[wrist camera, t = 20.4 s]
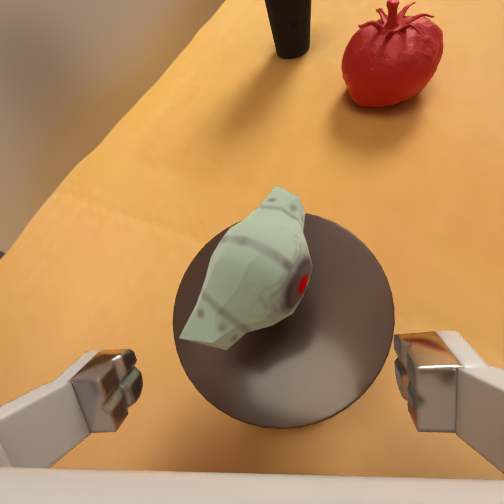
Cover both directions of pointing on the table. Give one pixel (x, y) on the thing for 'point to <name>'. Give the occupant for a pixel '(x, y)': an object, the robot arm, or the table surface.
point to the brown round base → (298, 338)
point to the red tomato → (391, 57)
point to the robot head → (253, 274)
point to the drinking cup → (290, 26)
